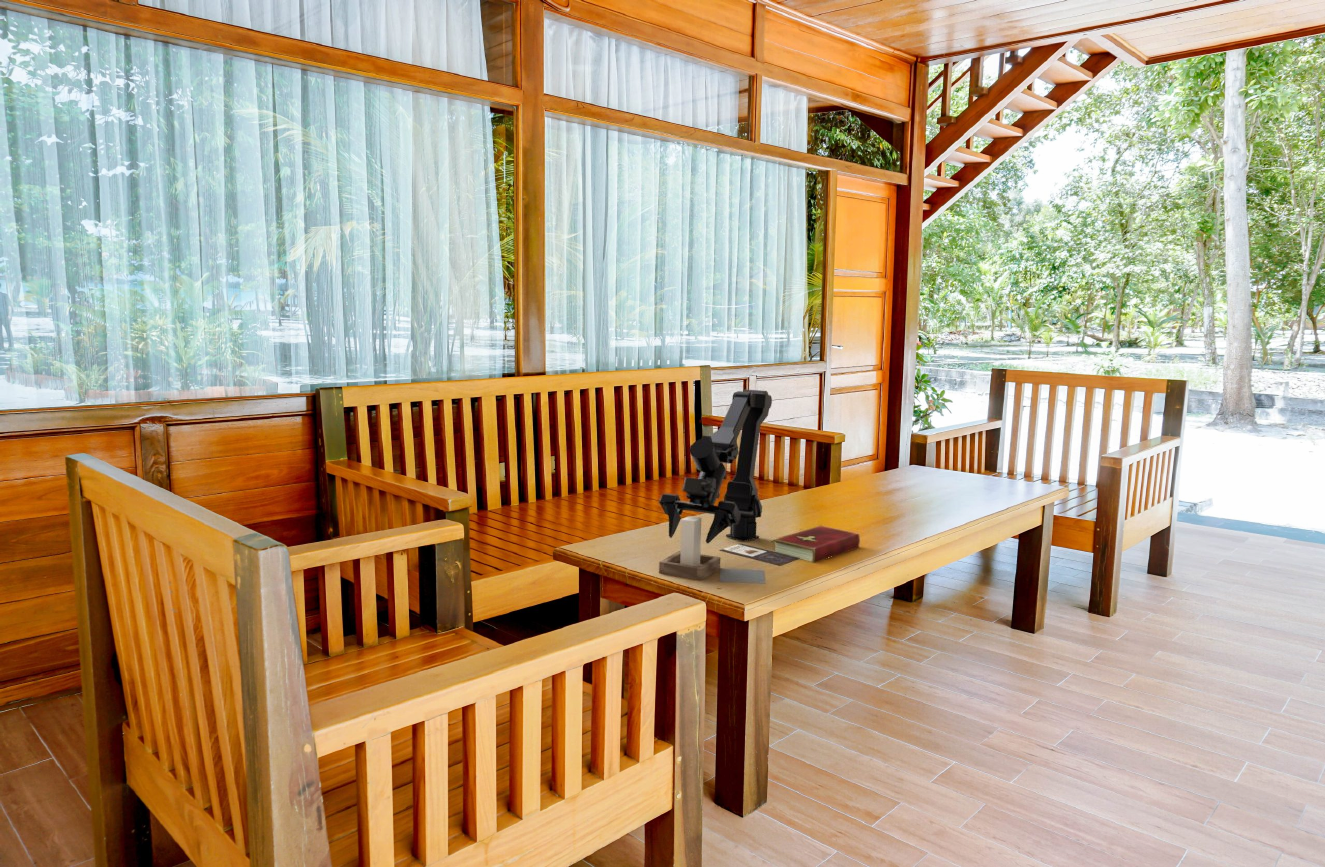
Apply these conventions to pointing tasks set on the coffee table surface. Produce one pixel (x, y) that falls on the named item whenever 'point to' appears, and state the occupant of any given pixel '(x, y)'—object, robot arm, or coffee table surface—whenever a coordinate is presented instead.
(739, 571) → the mat
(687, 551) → the grey tall square post
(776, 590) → the coffee table surface
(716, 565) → the brown square tray
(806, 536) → the hardcover book
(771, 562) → the chocolate bar
